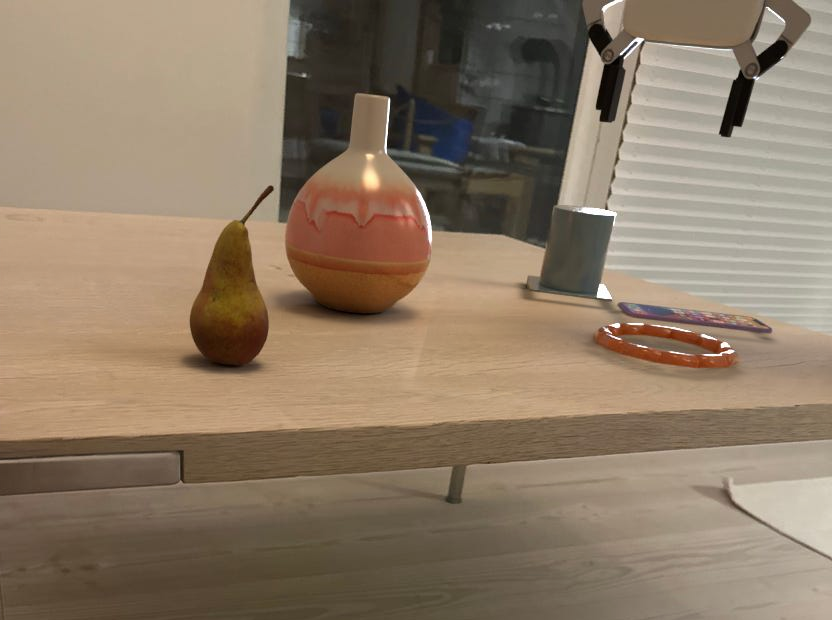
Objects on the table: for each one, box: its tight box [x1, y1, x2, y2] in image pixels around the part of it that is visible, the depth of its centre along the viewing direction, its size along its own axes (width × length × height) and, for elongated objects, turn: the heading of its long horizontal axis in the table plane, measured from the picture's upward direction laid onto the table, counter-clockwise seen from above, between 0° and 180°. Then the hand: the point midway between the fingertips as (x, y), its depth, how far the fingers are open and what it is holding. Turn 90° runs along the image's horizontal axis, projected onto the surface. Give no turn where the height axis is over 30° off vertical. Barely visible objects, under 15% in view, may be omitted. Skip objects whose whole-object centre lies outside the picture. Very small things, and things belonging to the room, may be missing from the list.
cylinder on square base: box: [525, 204, 617, 302], centre depth 103 cm, size 9×9×9 cm
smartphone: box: [617, 301, 773, 334], centre depth 97 cm, size 1×7×15 cm
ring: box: [593, 322, 739, 369], centre depth 83 cm, size 12×12×2 cm
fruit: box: [189, 185, 275, 366], centre depth 65 cm, size 6×6×12 cm
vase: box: [284, 92, 433, 314], centre depth 84 cm, size 14×14×18 cm
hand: (664, 129), depth 76 cm, fingers open, 9 cm apart
